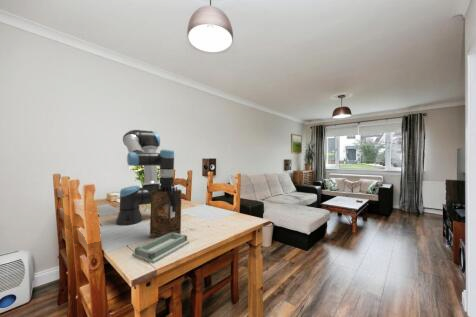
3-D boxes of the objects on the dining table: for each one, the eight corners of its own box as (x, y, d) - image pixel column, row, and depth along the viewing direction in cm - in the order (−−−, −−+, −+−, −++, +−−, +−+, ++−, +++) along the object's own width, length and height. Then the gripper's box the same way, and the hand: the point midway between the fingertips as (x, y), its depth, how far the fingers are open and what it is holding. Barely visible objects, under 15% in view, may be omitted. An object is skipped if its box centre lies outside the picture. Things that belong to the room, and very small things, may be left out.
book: (180, 230, 117) (180, 189, 117) (181, 234, 112) (182, 190, 112) (150, 234, 111) (150, 190, 111) (149, 238, 106) (150, 192, 106)
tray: (132, 254, 88) (132, 247, 88) (169, 237, 108) (169, 231, 108) (154, 263, 82) (154, 255, 82) (189, 242, 101) (189, 236, 101)
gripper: (147, 176, 113) (147, 214, 113) (176, 178, 103) (175, 221, 103) (158, 175, 120) (157, 211, 120) (186, 177, 110) (185, 217, 110)
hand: (166, 216), depth 112 cm, fingers open, 9 cm apart
